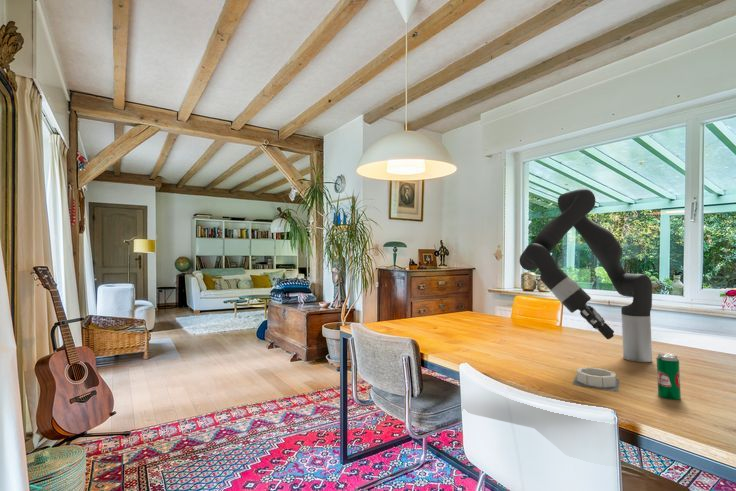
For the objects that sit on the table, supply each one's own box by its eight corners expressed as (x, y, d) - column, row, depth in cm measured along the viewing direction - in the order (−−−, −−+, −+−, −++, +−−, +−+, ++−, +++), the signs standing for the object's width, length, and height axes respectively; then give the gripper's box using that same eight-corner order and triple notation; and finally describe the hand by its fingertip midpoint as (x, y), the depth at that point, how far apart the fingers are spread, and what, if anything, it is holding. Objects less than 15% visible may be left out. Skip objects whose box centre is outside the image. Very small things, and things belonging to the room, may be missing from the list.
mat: (577, 374, 129) (577, 373, 129) (619, 380, 122) (619, 379, 122) (572, 385, 118) (572, 384, 118) (618, 393, 111) (618, 391, 111)
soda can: (653, 395, 109) (651, 353, 109) (669, 394, 109) (667, 352, 110) (668, 401, 104) (667, 357, 104) (685, 401, 104) (683, 357, 105)
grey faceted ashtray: (579, 374, 127) (579, 365, 128) (616, 380, 121) (615, 370, 122) (575, 383, 119) (575, 373, 119) (615, 389, 113) (614, 379, 113)
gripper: (577, 287, 114) (622, 331, 107) (581, 286, 126) (622, 325, 119) (557, 303, 117) (600, 346, 110) (563, 300, 129) (601, 340, 122)
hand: (611, 335), depth 115 cm, fingers open, 8 cm apart
